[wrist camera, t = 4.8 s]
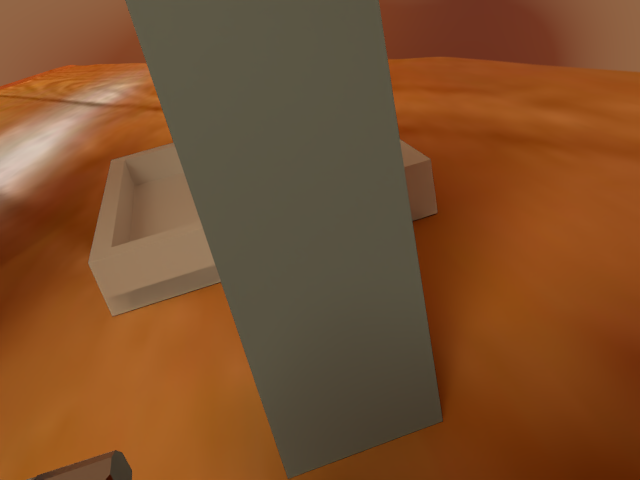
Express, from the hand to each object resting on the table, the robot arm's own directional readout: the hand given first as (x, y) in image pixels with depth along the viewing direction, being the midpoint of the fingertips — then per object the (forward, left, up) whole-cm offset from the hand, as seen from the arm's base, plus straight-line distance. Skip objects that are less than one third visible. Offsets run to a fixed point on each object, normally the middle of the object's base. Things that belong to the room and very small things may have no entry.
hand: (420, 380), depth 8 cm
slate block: (0, +9, -8) cm, 12 cm away
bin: (0, +28, -8) cm, 29 cm away
